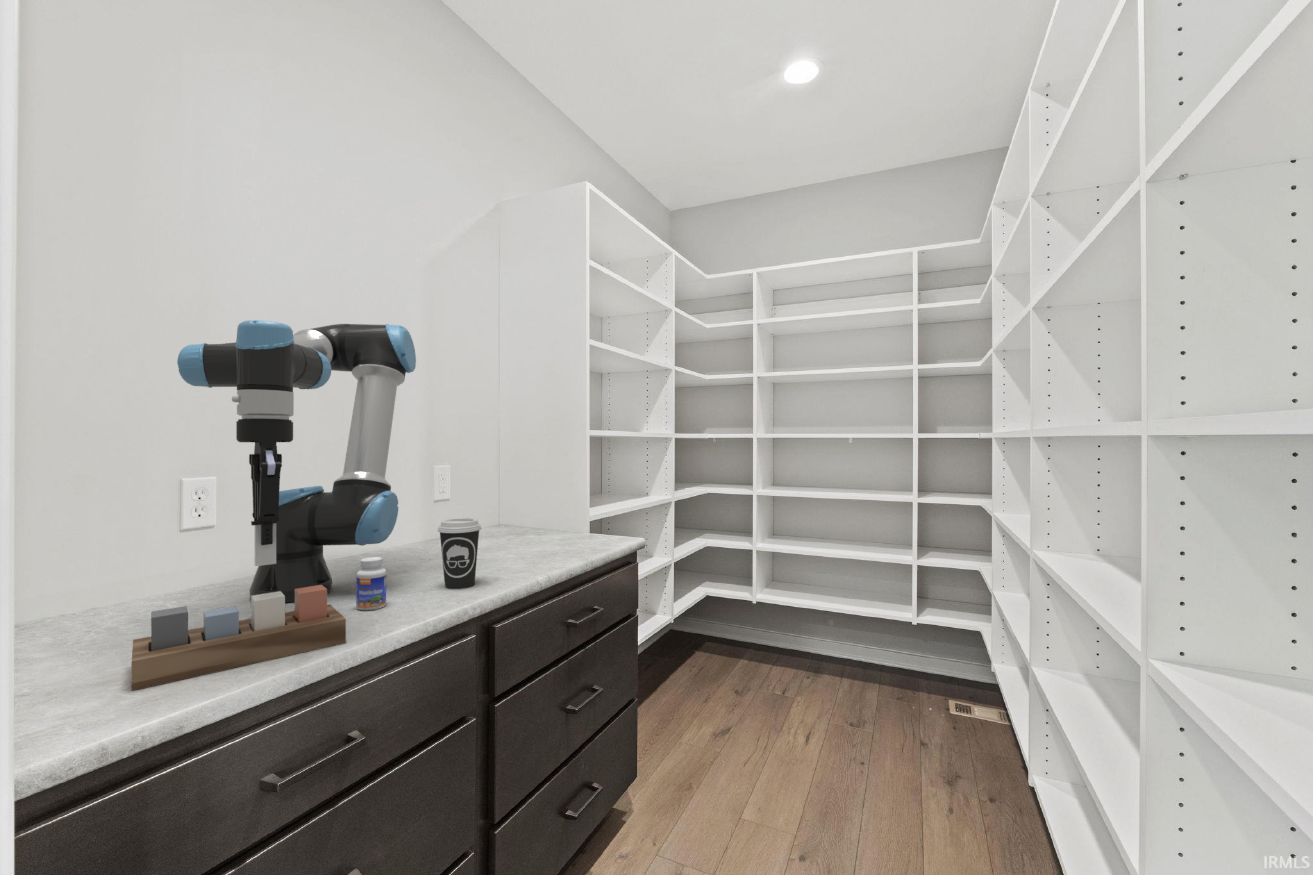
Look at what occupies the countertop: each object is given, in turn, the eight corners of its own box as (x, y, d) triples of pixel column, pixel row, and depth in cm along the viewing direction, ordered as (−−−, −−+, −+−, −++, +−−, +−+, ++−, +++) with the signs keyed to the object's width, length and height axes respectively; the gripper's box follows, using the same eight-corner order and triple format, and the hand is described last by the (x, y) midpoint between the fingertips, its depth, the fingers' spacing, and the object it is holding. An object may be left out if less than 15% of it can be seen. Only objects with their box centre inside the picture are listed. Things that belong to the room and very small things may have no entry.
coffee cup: (490, 583, 130) (490, 519, 130) (455, 593, 122) (455, 524, 122) (463, 578, 136) (463, 516, 136) (428, 587, 128) (428, 521, 128)
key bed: (133, 666, 83) (133, 639, 83) (329, 626, 101) (329, 604, 101) (131, 690, 75) (131, 661, 75) (345, 642, 93) (345, 618, 93)
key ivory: (251, 626, 90) (251, 595, 90) (280, 621, 93) (280, 591, 93) (254, 632, 87) (254, 601, 87) (284, 626, 90) (284, 596, 90)
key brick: (294, 618, 94) (294, 588, 94) (321, 613, 97) (321, 584, 97) (299, 624, 91) (299, 593, 91) (327, 618, 94) (327, 589, 94)
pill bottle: (355, 612, 109) (355, 563, 109) (356, 605, 114) (356, 557, 114) (386, 608, 111) (386, 560, 111) (386, 601, 116) (385, 555, 116)
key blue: (203, 643, 86) (203, 611, 86) (235, 637, 89) (235, 605, 89) (205, 650, 83) (205, 617, 83) (238, 643, 86) (238, 611, 86)
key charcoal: (151, 645, 82) (151, 611, 82) (186, 638, 85) (186, 605, 85) (151, 652, 79) (151, 617, 79) (188, 645, 82) (188, 611, 82)
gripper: (232, 418, 92) (232, 561, 92) (241, 416, 83) (241, 575, 83) (286, 419, 97) (286, 554, 97) (300, 417, 88) (300, 567, 88)
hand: (265, 564), depth 90 cm, fingers closed
